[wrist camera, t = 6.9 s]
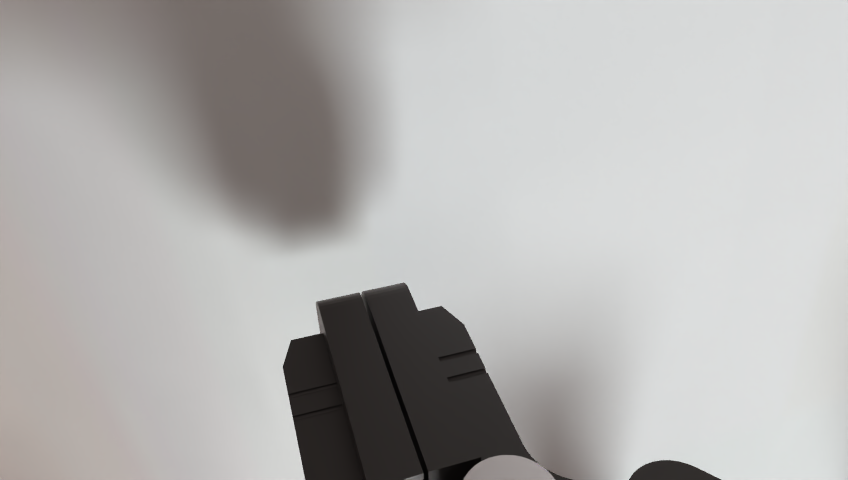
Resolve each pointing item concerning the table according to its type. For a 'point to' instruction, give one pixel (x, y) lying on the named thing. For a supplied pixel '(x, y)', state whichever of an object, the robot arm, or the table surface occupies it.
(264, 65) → the table surface
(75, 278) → the table surface
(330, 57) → the table surface
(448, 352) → the robot arm
